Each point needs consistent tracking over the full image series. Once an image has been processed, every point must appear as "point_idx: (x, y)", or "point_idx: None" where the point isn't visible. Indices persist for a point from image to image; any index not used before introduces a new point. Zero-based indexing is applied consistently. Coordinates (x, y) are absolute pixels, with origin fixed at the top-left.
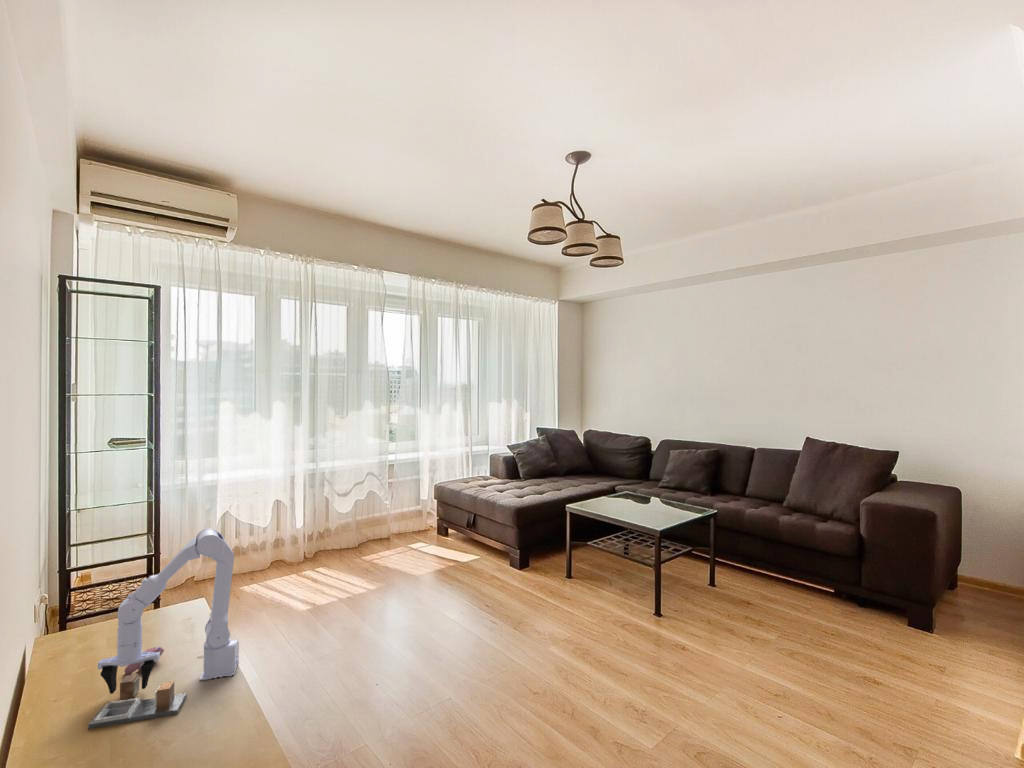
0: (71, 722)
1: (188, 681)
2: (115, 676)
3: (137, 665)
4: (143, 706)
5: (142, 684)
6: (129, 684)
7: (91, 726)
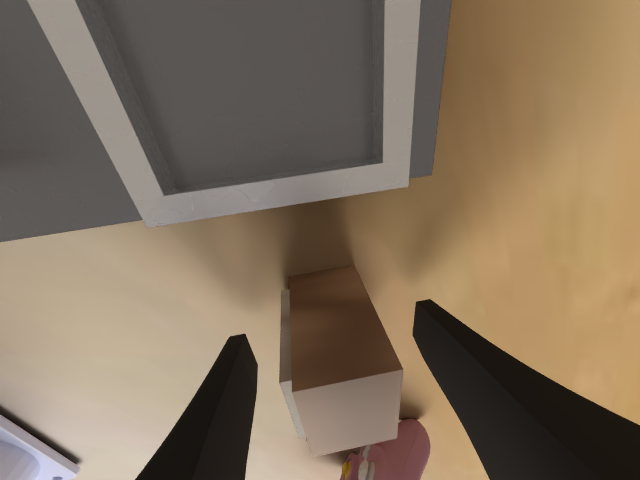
0: (584, 41)
1: (67, 396)
2: (476, 433)
3: (384, 473)
4: (11, 91)
5: (228, 364)
6: (316, 358)
7: None
